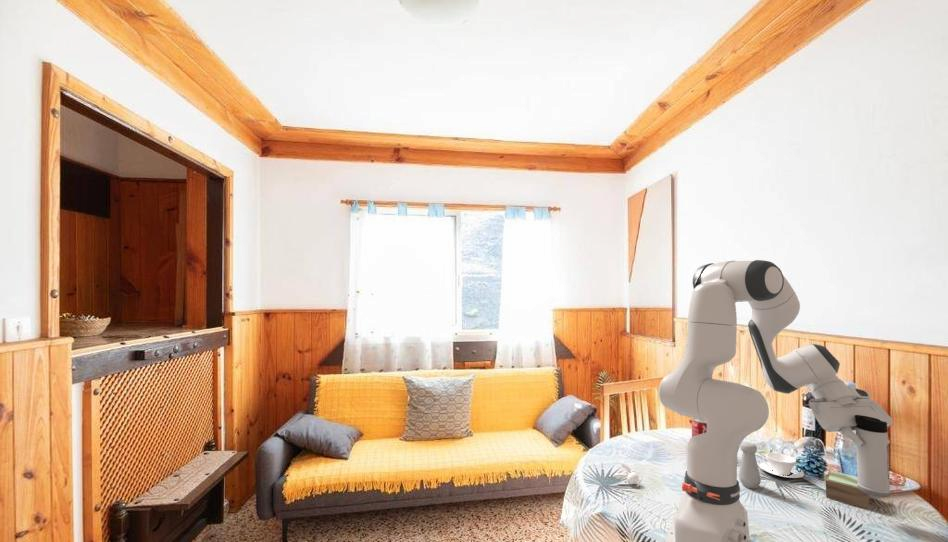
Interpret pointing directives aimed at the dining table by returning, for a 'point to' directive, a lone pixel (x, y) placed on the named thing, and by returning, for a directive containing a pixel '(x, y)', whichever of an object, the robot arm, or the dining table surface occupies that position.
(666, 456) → the dining table surface
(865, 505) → the stand
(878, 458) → the travel mug
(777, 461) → the teacup
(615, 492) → the dining table surface
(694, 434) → the soda can
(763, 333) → the robot arm
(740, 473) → the salt shaker
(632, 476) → the rabbit figurine
